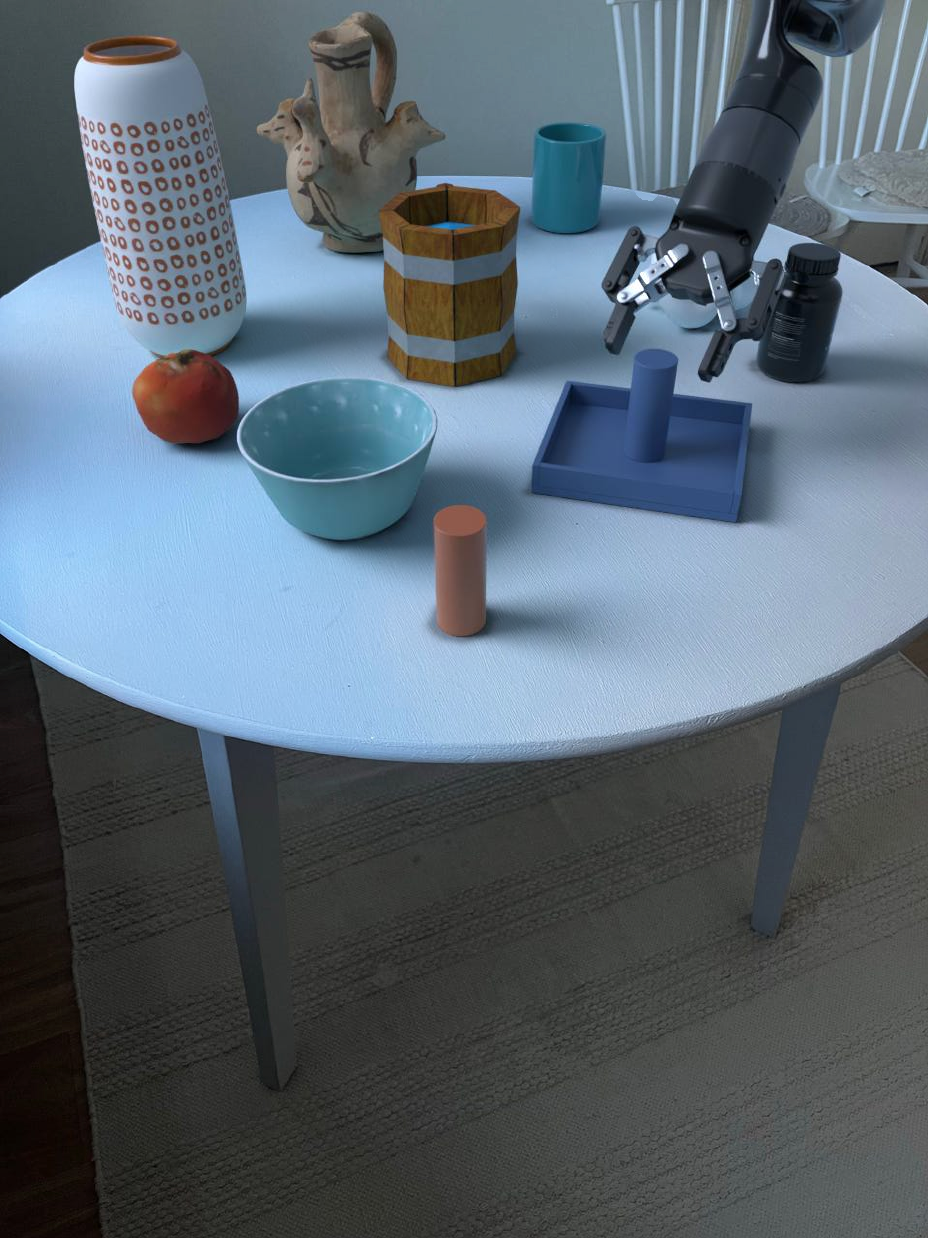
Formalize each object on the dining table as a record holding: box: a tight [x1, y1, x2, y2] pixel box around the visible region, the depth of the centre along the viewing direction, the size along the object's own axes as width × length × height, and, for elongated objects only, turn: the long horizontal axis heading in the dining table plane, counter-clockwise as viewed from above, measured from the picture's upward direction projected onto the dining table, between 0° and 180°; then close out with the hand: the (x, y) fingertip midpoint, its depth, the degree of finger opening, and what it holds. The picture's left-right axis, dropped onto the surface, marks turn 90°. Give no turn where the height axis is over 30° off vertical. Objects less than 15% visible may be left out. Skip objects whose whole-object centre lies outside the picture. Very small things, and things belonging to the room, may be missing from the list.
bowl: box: [236, 376, 438, 541], centre depth 81 cm, size 16×16×8 cm
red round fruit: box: [131, 350, 240, 445], centre depth 91 cm, size 9×9×8 cm
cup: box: [530, 121, 607, 234], centre depth 131 cm, size 9×12×11 cm
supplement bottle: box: [755, 242, 844, 383], centre depth 98 cm, size 7×7×12 cm
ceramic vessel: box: [256, 11, 447, 253], centre depth 120 cm, size 18×19×25 cm
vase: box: [73, 35, 248, 359], centre depth 98 cm, size 13×13×28 cm
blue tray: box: [530, 380, 753, 523], centre depth 89 cm, size 17×15×3 cm
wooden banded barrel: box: [378, 182, 521, 388], centre depth 102 cm, size 20×14×15 cm
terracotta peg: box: [433, 504, 488, 637], centre depth 70 cm, size 4×4×9 cm
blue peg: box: [624, 348, 679, 462], centre depth 86 cm, size 4×4×9 cm
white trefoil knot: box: [650, 253, 757, 329], centre depth 109 cm, size 11×12×9 cm
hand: (656, 364), depth 84 cm, fingers open, 8 cm apart
